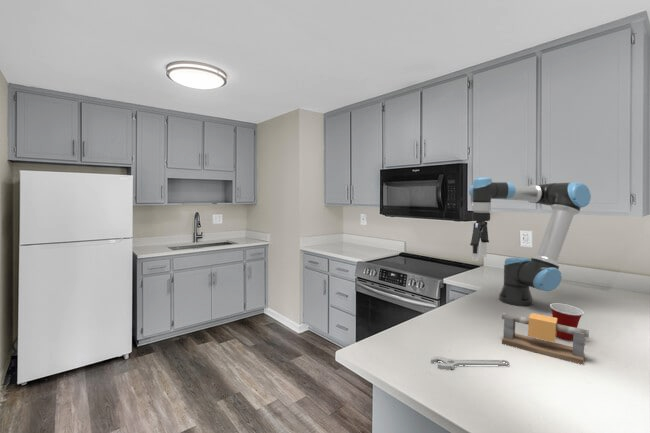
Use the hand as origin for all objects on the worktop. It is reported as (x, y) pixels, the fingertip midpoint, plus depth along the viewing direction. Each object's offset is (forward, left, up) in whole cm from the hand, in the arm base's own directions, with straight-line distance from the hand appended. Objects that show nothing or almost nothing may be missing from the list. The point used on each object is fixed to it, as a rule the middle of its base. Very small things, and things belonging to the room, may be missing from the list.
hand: (479, 258), depth 150 cm
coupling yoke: (+20, +27, -22) cm, 40 cm away
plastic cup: (+3, +33, -27) cm, 43 cm away
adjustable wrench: (+49, +11, -27) cm, 57 cm away
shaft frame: (+20, +27, -27) cm, 43 cm away
